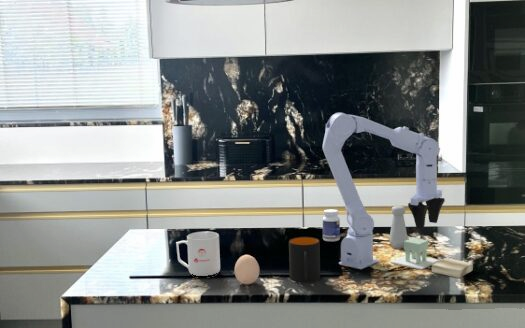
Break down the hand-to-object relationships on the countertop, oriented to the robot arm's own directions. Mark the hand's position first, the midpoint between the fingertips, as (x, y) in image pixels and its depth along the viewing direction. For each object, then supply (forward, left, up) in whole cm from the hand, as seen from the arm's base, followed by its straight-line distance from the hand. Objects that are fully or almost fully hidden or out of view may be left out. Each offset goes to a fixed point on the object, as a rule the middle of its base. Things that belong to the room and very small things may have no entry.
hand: (426, 225), depth 172 cm
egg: (-47, +27, -11) cm, 55 cm away
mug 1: (-50, +44, -11) cm, 67 cm away
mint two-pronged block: (-4, +1, -10) cm, 11 cm away
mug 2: (-35, +17, -11) cm, 40 cm away
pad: (-4, +2, -11) cm, 11 cm away
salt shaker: (+7, +14, -11) cm, 19 cm away
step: (-5, -10, -11) cm, 15 cm away
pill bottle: (+1, +36, -11) cm, 37 cm away
